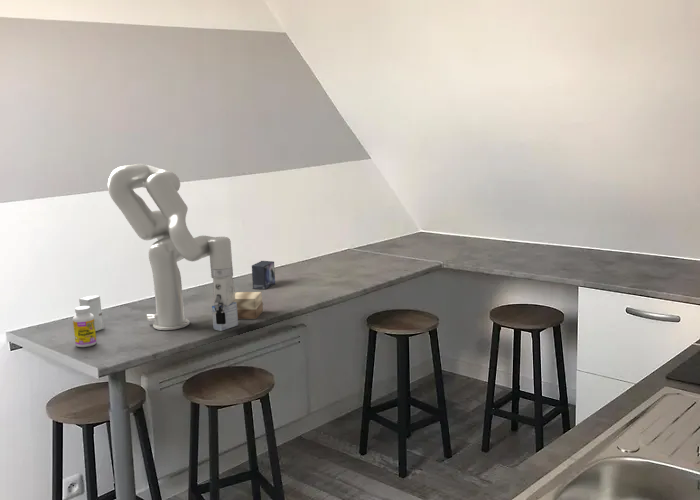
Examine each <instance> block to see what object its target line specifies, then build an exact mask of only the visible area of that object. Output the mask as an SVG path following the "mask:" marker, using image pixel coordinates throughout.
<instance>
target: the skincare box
mask: <svg viewBox="0 0 700 500" xmlns="http://www.w3.org/2000/svg"><path fill="white" fill-rule="evenodd" d="M78 301H79V307H80V306H90V313H91V314H93V315H94V321H95V331H96V332H98V331H100V330H103V329H104V322H103V321H104V320H103V312H102V305H101V296H100V295H88V296H84V297H81V298H79V299H78Z"/></svg>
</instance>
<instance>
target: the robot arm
mask: <svg viewBox="0 0 700 500" xmlns="http://www.w3.org/2000/svg"><path fill="white" fill-rule="evenodd" d="M139 188H145V189H146V192H147V193H148V194H149V196H150V198H151V200H152V201H153V202H154V204H155V205H156V207H157V208H158V209H159V210H153V211H152V210H151V209H150V208H149V206H148V205H147V203H146V202H145V200H144V199H143V198H142V197H141V196H140V195H139V194H137V193H136V192H135V189H139ZM180 188H181V181H180V178H179V177H178V175H177V174H175V172H173V171H170V170H168V169H164V168H160V167H158V166H157V167H156V166H152V165H150V164H145V163H135V164H128V165H127V164H126V165H121V166H118V167H117V168H115V169H113V170H112V172H111V173H110V175H109V178H108V180H107V190H108V194H109V196H110V198H111V200H112V201H113V203H114V204H115V205H116V207H118V209H119V210H120V212H121V213H122V215H123V216H124V218H125V219H126V221H127V222H128V223H129V225H130V226H131V228H132V229H133V231H134V232H135V233H136V235H137V237H139V238H140V239H141V240H143V241H151V240H155V239H157V240H156V241H155V242H153V243H152V244H151V245H150V247H149V249H148V259H149V260H148V261H149V263H150V266H151V267H150V268H151V271H152V278H153V286H154V287H153V289H154V298H155V299H154V300H155V311H156V313H155V314H154V313H148V314H146V319H147V321H148V322H149V321H150V322H151V321H152V322H153V324H152V327H153V328H154V329H155V330H158V331H172V330H173V331H174V330H178V329H183V328H185V327H187V326H188V325H190V320H189V319H188V318H185V309H184V297H183V288H182V287H183V286H182V285H183V283H182V276H181V271H180V268H179V265H178V263H177V262H179V261H181V260H186V261H188V262H196V261H199V260H201V259H203V258H206V257H209V264H210V265H209V266H210V277H211V278H212V280H213V281H212V282H213V283H212V286H213V287H212V288H213V290H212V292H213V293H212V294H213V303H214V304H213V305H214V306H215V313H216V323H217V324H225V323H226V319H225V313H224V308H225V305H226V306H229V305H230V304H231V303H232V302H233V301H234V300H235V293H236V292H235V284H234V278H233V277H234V272H233V271H234V269H233V257H232V256H233V255H232V242H231V239H230V238H229V237H228V236H210V235H198V236H197V237H194V236H193V235H192V234H191V232H190V230H189V228H188V226H187V223H186V217H187V214H188V205H187V204H186V203H185V201H184V199H183V198H182V196H181V195H180V194H179V192H178V191H179V190H180ZM221 307H222V309H221Z"/></svg>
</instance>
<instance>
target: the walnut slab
mask: <svg viewBox="0 0 700 500" xmlns="http://www.w3.org/2000/svg"><path fill="white" fill-rule="evenodd" d="M263 304H264V303H263V301H262V303H261V304H260V305H259V306H258V308H257V309H247V310H237V315H238V320H244V319H245V320H257V319H258V318H259V317H260V315H261V314H262V313H263V312H264V307H263V306H264V305H263Z"/></svg>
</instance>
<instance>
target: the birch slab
mask: <svg viewBox="0 0 700 500" xmlns="http://www.w3.org/2000/svg"><path fill="white" fill-rule="evenodd" d="M233 302H236V303H237V310H247V309H257V308H258V306H259V305H260V304H261V303H262V302H263V294H262V291H238V292H237V291H236V292H235V300H234V301H233Z"/></svg>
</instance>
